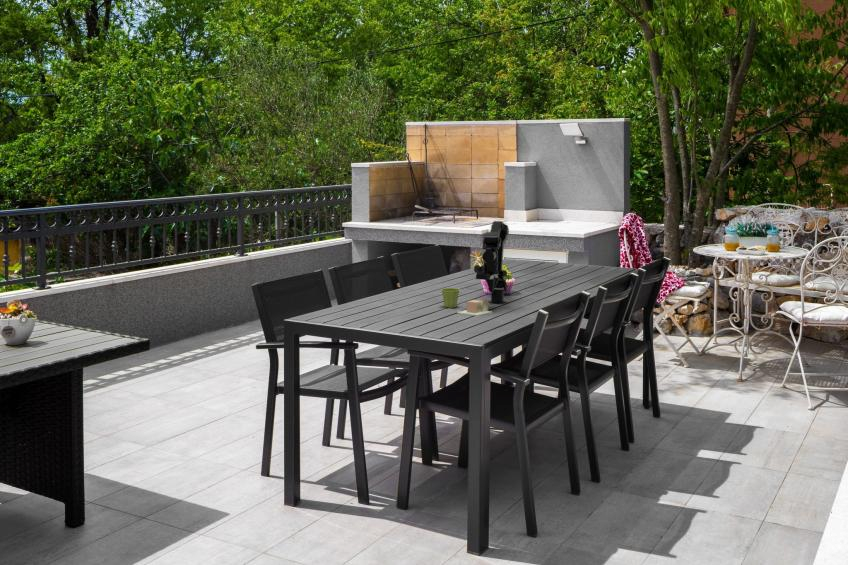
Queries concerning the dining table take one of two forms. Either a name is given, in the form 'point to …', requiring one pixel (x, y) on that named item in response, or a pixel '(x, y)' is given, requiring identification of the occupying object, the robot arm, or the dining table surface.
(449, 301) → the plant pot
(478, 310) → the birch block
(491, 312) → the sage mat
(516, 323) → the dining table surface
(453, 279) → the dining table surface
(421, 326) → the dining table surface
